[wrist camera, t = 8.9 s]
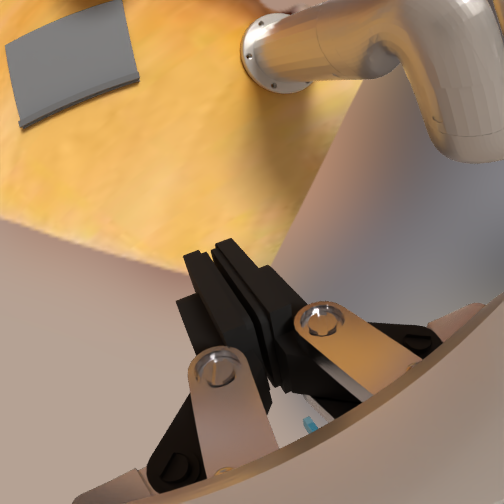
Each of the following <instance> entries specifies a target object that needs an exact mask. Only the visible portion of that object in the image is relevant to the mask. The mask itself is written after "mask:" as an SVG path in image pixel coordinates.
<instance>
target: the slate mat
mask: <svg viewBox="0 0 504 504" xmlns="http://www.w3.org/2000/svg"><path fill="white" fill-rule="evenodd" d="M5 49H6V55H7V61H8V67H9V73H10V78H11V83H12V87H13V92H14V96H15V101H16V105H17V109H18V113H19V117H20V121H18V123H19V126H20V127H23V129H25V128H27V127H28V126H30V125H32V124H34V123H36V122H38V121H40V120H42V119H44V118H46V117H49V116H51V115H53V114H55V113H57V112H59V111H62V110H64V109H66V108H68V107H71V106H73V105H75V104H78V103H80V102H83V101H85V100H88V99H90V98H93V97H95V96H98V95H100V94H103V93H106V92H109V91H111V90H114V89H117V88H120V87H123V86H126V85H129V84H132V83H135V82H138V81H140V80H139V78H140V76H139V72H138V71H137V67H136V63H135V59H134V54H133V50H132V46H131V41H130V37H129V32H128V27H127V23H126V18H125V13H124V8H123V3H122V0H113V1H110V2H106V3H103V4H100V5H97V6H94V7H91V8H88V9H85V10H82V11H79V12H77V13H74V14H71V15H69V16H66V17H64V18H61V19H59V20H56V21H54V22H52V23H49V24H47V25H45V26H43V27H40V28H38V29H36V30H34V31H32V32H30V33H28V34H26V35H24V36H22V37H20V38H18V39H16V40H14V41H12V42H10V43H9V44H7V45H5Z"/></svg>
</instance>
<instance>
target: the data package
mask: <svg viewBox="0 0 504 504" xmlns="http://www.w3.org/2000/svg"><path fill="white" fill-rule="evenodd" d="M303 425H304V427H305V429H306V430H307V432H308V433H309V434H310V433H312V432H314V431H316V430H317V429H318V427H317V426H316V424H315V423H314V422H313V420H312V419H311V417H310V416H308V417H306V418H304V419H303Z"/></svg>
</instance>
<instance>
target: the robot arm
mask: <svg viewBox="0 0 504 504" xmlns="http://www.w3.org/2000/svg"><path fill="white" fill-rule="evenodd" d="M493 3H494V7H495V10H496V14H497V17H498V21H499V24H500V27H501V31H502V34H503V38H504V0H493ZM258 24H259V25H260V26H259V25H258ZM240 53H241V59H242V62H243V65H244V68H245V69H246V71H247V73H248V74H249V76H250V77H251V78H252V79H253V80H254V81H255V82H256V83H257V84H258V85H260V86H261V87H263V88H264V89H266V90H268V91H271V92H274V93H281V94H289V93H295V92H299V91H301V90H303V89H305V88H306V87H308V86H309V85H310V84H311V83H312V82H313V81H326V80H362V79H376V78H379V77H382V76H384V75H386V74H388V73H390V72H391V71H392V70H394V69H395V68H396V67H397V66H398V65H399V63H400V62H401V64H402V66H403V68H404V71H405V73H406V75H407V78H408V79H409V81H410V84H411V87H412V89H413V92H414V95H415V97H416V100H417V103H418V106H419V109H420V112H421V115H422V118H423V120H424V123H425V126H426V129H427V132H428V134H429V137H430V139H431V141H432V143H433V144H434V146H435V147H436V148H437V150H438V151H439V152H440V153H441V154H443V155H444V156H446V157H447V158H449V159H451V160H454V161H457V162H462V163H470V164H479V163H489V162H495V161H499V160H504V44H503V41H502V37H501V34H500V31H499V28H498V25H497V22H496V19H495V17H494V14H493V12H492V9H491V7H490V5H489V3H488V1H487V0H329V1H326V2H323V3H320V4H318V5H315V6H312V7H310V8H307V9H304V10H302V11H300V12H297V13H295V14H292V15H287V14H282V13H274V14H268V15H265V16H262V17H260V18H258V19H257V20H255V21H254V22H253V23H251V24H250V25H249V27H248V28H247V29H246V31H245V33H244V35H243V37H242V41H241V48H240ZM246 56H248V59H247V57H246ZM271 84H272V86H273V87H271ZM215 247H216V248H215V249H212V250H211V254H212V258H213V261H214V262H213V261H212V259H211V258H210V256H209V255H208V253H207V252H204V253H200V251H199V250H197V251H194V252H192V253H189V254H186V255H184V256H183V258H184V261H185V264H186V267H187V270H188V272H189V275H190V278H191V281H192V284H193V287H194V289H195V292H196V293H195V294H192V295H190V296H187V297H185V298H182V299H180V300H177V301H176V304H177V306H178V309H179V312H180V314H181V317H182V320H183V323H184V325H185V328H186V330H187V333H188V336H189V338H190V341H191V343H192V346H193V348H194V351H195V353H196V357H195V358H194V359H193V360H192V362H191V363H190V366H189V368H188V382H189V388H190V394H189V395H188V397H187V399H186V400H185V402H184V403H183V405H182V407H181V408H180V410H179V412H178V414H177V415H176V417H175V418H174V420H173V422H172V423H171V425H170V426H169V428H168V430H167V431H166V433H165V435H164V436H163V438H162V439H161V441H160V443H159V445H158V446H157V448H156V449H155V451H154V453H153V454H152V456H151V457H150V459H149V462H148V464H147V466H146V467H144V468H142V469H140V470H137V469H136V468H134V469H133V470H130V471H129V472H127V473H125V474H123V475H121V476H119V477H117V478H115V479H113V480H111V481H109V482H107V483H104V484H102V485H100V486H98V487H96V488H94V489H92V490H89V491H87V492H85V493H83V494H81V495H79V496H78V497H76V498H75V500H74V501H73V503H72V504H504V292H503V293H501V294H500V295H498V296H497V297H496V298H494V299H493V300H492V301H491V302H489V303H488V304H487V305H484V304H482V303H472V304H468V305H467V306H465V307H463V308H460V309H458V310H456V311H454V312H452V313H450V314H448V315H445V316H443V317H441V318H439V319H436V320H434V321H432V322H429V323H428V325H427V327H423V326H417V325H400V324H386V323H372V322H366V321H364V320H363V319H361V318H360V317H358V316H357V315H355V314H354V313H352V312H351V311H349V310H347V309H346V308H345V307H343V306H341V305H339V304H337V303H334V302H329V301H319V302H315V303H311V304H309V305H308V304H307V303H306V302H305V301H304V300H303V299H302V298H301V297H300V296H299V295H298V294H297V293H296V292H295V291H294V290H293V289H292V288H291V287H290V286H289V285H288V284H287V283H286V282H285V281H284V280H283V279H282V278H281V277H280V276H279V275H278V274H277V273H276V271H274V269H273V268H272V267H270V266H269V265H266V266H263V267H261V268H258V267H257V266H256V265H255V264H254V262H253V261H252V260H251V259H250V258H249V257H248V256H247V255H246V254H245V252H244V251H243V250H242V249H241V248H240V247H239V246H238V245H237V244H236V242H235V241H234V240H233V239H232V238H229V239H227V240H224V241H221V242H219V243H216V244H215ZM267 377H268V379H269V380H270V382H271V383H272V385H273V386H274V387H275V388H276V387H278V386H281V388H282V389H283V391H284V392H285V394H286V393H288V392H290V391H292V392H293V393H297V394H303V397H304V398H305V400H306V401H307V402H308V403H309V404H310V405H311V406H312V407H313V408H314V409H315V410H316V411H317V412H318V413H319V414H320V415H321V416H322V417H324V419H325V420H326V421H328V422H329V423H328V424H326V425H325V426H323V427H321V428H319V429H317V430H316V431H314V432H312V433H310V434H308V435H306V436H304V437H302V438H300V439H298V440H297V441H295V442H293V443H291V444H289V445H287V446H285V447H283V448H281V449H279V447H278V444H277V442H276V439H275V436H274V433H273V431H272V428H271V425H270V423H269V420H268V417H267V414H268V412H269V409H270V407H271V404H272V399H271V395H270V392H269V391H270V387H269V383H268V379H267Z"/></svg>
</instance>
